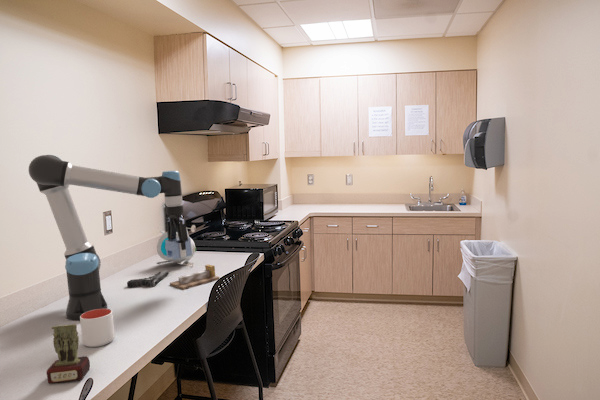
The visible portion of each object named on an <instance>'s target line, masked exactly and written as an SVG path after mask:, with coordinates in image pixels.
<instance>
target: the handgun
mask: <svg viewBox="0 0 600 400" xmlns="http://www.w3.org/2000/svg"><path fill="white" fill-rule="evenodd" d="M169 274H170V273H169V270H162V271H159V272H157V273H155V274H154V275H152V276H148V277H144V278H137V279H130V280H128V281H127V282H126V284H127V285H126V287H127V288H129V289H130V288H136V287H147V288H150V287H151V286H152V287H155V286H156V285H157V284H158V283H159V282H160V281H161V280H163V279H164V278H166V277H167V276H168V275H169ZM152 287H151V288H152Z"/></svg>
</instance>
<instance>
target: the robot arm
mask: <svg viewBox="0 0 600 400" xmlns="http://www.w3.org/2000/svg"><path fill="white" fill-rule="evenodd" d="M28 174H29V176H30V178H31V180H33V181H34V182H35V183H36V185H37V187H38V190H39V192H40V193H41V194H43V195H45V197H46V199H47V202H48V205H49V207H50V209H51V213H52V215H53V218H54V221H55V223H56V226H57V228H58V231H59V233H60V236H61V238H62V241H63V244H64V246H65V252H64V253H63V255H64V257H65V266H64V268H65V270H66V278H67V280H66V282H67V289H68V301H67V306H66V310H65V316H66V318H67V319H68V320H69V321H70V320H71V321H80V316H81V315H82V314H83V313H85V312H88V311H91V310H96V309H109V308H108V303H107V301H106V299H105V297H104V295H103V293H102V288H101V277H100V268H101V266H102V265H101V262H102V261H101V259H100V257H99V255H98V254H97V252H96V248H95V246H94V244H93V243H91V242H89V240H88V239H87V236H86V233H85V230H84V228H83V225H82V222H81V220H80V217H79V214H78V211H77V208H76V207H75V204H74V201H73V197H72V196H71V193H70V190H69V187H70V185H71V186H76V187H77V186H78V187H84V188H89V189H90V188H91V189H97V190H104V191H109V192H116V193H123V194H128V195H129V194H130V195H134V196H135V195H136V196H140V197H146V198H151V199H153V198H154V199H155V197H158V196H159V195H160V194H164V195H163V196H164V204H165V213H166V215H167V216H168V217H165V222H166V230H167V231H166V232H167V234H168V239H174V238H176V232H177V233H178V237H179V240H180V242H178V243H179V249H180V257H185V256H186V245H185V242H186V241H188V236H187V230H188V228H187V229H186V227H187V219H186V218H185V219H184V218H183V217H182V214H184V213H185V212H184V205H183V193H182V191H183V190H182V184H181V183H182V181H181V176H180V171H178V170H166V171H162V172H161V175H160V176H151V177H150V176H149V177H143V176H137V175H132V174H126V173H120V172H113V171H107V170H101V169H97V168H90V167H85V166H79V165H78V166H77V165H73V164H72V163H71V162H70V161H65V160H62V159H61V158H60V157H59V156H56V155H53V154H44V155H39V156H38V155H37V156H35V157H34V158H33V159H32V160H31V161H30V163H29V165H28Z"/></svg>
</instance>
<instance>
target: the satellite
mask: <svg viewBox="0 0 600 400" xmlns="http://www.w3.org/2000/svg"><path fill="white" fill-rule="evenodd" d="M186 229H187V236H188V238H190V241H191V250H192V255H190V256H186V257H182V258H178V259H175V260H174V259H173V257H171V258H167V252H166V243H165V240H169V239H168V234H167V231H165V230H161V229H160V228H159V227H158V232H159V233H161V234H162V235H161V236H160V237H159V239H158V241H157V243H156V252H157V254H158V257H160V258H161V259H162V260H163V261H158V262H156V265H160V266H161V264H166V263H172V262H173V263H177V264H179V265H184V264H186V266H187V267H190V268H193V267H194V263H190V262H189V261H190V260H191V259H192V258H193V257H194V255H195V253H196V251H197V247H196V245H195V242H194V240H193V239H192V237H190V235H189V230H188V229H190V231H191V233H194V232H195V231H196V230H197V229H196V225H195V224H192V225H191V227H187V226H186ZM176 238H178V233H177V231H176Z"/></svg>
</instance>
